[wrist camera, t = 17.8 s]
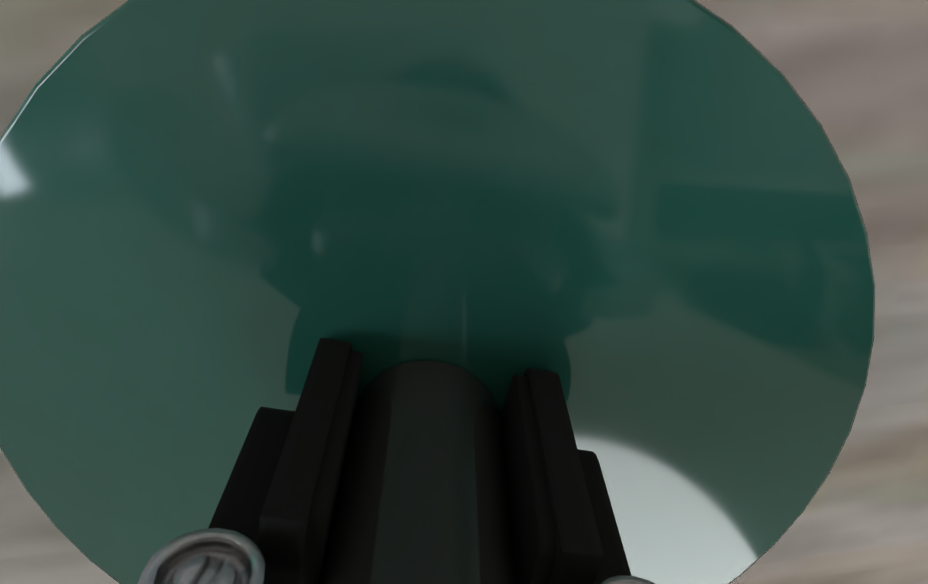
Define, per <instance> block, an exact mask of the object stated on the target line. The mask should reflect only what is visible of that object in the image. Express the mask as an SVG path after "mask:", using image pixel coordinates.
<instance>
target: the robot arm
mask: <svg viewBox="0 0 928 584" xmlns="http://www.w3.org/2000/svg"><path fill="white" fill-rule="evenodd" d="M351 349H352V343H351V342H345V341H338V340H331V339H324V338H320V340H319V343H318V346H317V349H316V351H315V354H314V357H313V360H312V363H311V366H310V369H309V372H308V375H307V378H306V381H305V384H304V387H303V390H302V393H301V396H300V399H299V402H298V405H297V408H296V411H290V410H282V409H275V408H268V407H260V408H259V409H258V411H257V413H256V415H255V418H254V420H253V422H252V425H251V427H250V429H249V432H248V434H247V437H246V439H245V441H244V444H243V446H242V449H241V451H240V453H239V456H238V458H237V461H236V463H235V465H234V468H233V470H232V472H231V475H230V477H229V480H228V482H227V484H226V487H225V489H224V492H223V494H222V496H221V499H220V501H219V503H218V506H217V508H216V511H215V513H214V515H213V518H212V520H211V523H210V525H209V527H208V529H199V530H195V531H192V532H188V533H185V534H182V535H180V536H178V537H176V538H175V539H173V540H171V541H169V542H167V543H166V544H165V545H163V546H162V547H161V548H160V549H159V550H158V551H157V552H156V553H155V554H154V555H153V556H152V557H151V559H150V560H149V562H148V563H147V565H146V567H145V568H144V570H143V572H142V575H141V577H140V579H139V582H138V584H318V583H319V578H320V574H321V569H322V564H323V559H324V555H325V550H326V545H327V540H328V535H329V531H330V526H331V521H332V516H333V512H334V507H335V502H336V497H337V492H338V488H339V483H340V478H341V473H342V468H343V464H344V459H345V454H346V449H347V445H348V440H349V435H350V430H351V425H352V421H353V416H354V411H355V406H356V400H357V393H358V385H359V378H360V370H361V363H362V355H363V352H356V351H351ZM500 423H501V432H502V442H503V452H504V461H505V471H506V481H507V490H508V500H509V510H510V519H511V529H512V539H513V548H514V558H515V567H516V577H517V584H655V583H653V582H651V581H649V580H646V579H643V578H639V577H636V576H632V575H631V572H630V568H629V565H628V561H627V558H626V554H625V551H624V547H623V544H622V540H621V537H620V533H619V530H618V526H617V523H616V519H615V516H614V512H613V509H612V505H611V502H610V498H609V495H608V491H607V488H606V484H605V481H604V477H603V474H602V470H601V467H600V463H599V460H598V458H597V455H596V454H595V453H594V452H593V451H587V450H580V449H577V445H576V441H575V437H574V433H573V429H572V425H571V421H570V417H569V413H568V409H567V405H566V401H565V397H564V393H563V389H562V385H561V381H560V377H559V375H558V373H556V372H550V371H543V370H536V369H529V368H527V369H526V370H525V372H524V374H523V376H522V375H514V376H513V378H512V381H511V384H510V388H509V392H508V396H507V399H506V403H505V407H504V411H503V414H502V418H501V422H500Z"/></svg>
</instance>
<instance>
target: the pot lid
mask: <svg viewBox="0 0 928 584" xmlns="http://www.w3.org/2000/svg"><path fill="white" fill-rule="evenodd" d="M874 313H875V283H874V277H873V270H872V263H871V256H870V249H869V243H868V236H867V231H866V228H865V225H864V222H863V219H862V216H861V213H860V209H859V206H858V203H857V200H856V197H855V194H854V191H853V188H852V185H851V182H850V179H849V176H848V174H847V172H846V171H845V169H844V167H843V165H842V163H841V161H840V159H839V157H838V155H837V153H836V151H835V150H834V148H833V146H832V144H831V142H830V140H829V138H828V136H827V134H826V132H825V130H824V129H823V127H822V125H821V123H820V122H819V120H818V119H817V118H816V117H815V115H814V114H813V113H812V111H811V110H810V109H809V107H808V106H807V105H806V103H805V102H804V101H803V99H802V98H801V97H800V95H799V94H798V93H797V92H796V90H795V89H794V88H793V86H792V85H791V84H790V82H789V81H788V80H787V78H786V77H785V76H784V74H783V73H782V72H781V71H780V70H779V69H778V68H777V67H776V66H775V65H774V64H773V63H772V62H770V61H769V60H768V59H767V58H766V57H765V56H764V55H763V54H762V53H761V52H760V51H759V50H758V49H757V48H756V47H755V46H754V45H752V44H751V43H750V42H749V41H748V40H747V39H746V38H745V37H744V36H743V35H742V34H741V33H740V32H739V31H738V30H737V29H735V28H734V27H733V26H732V25H731V24H730V23H728V22H727V21H725V20H724V19H722V18H721V17H719V16H718V15H716V14H715V13H713V12H712V11H710V10H709V9H707V8H706V7H705V6H703V5H702V4H700V3H699V2H697V1H696V0H128V1H126V2H125V3H124V4H122V5H121V6H120V7H118V8H117V9H116V10H114V11H113V12H112V13H110V14H109V15H108V16H106V17H105V18H104V19H102V20H101V21H100V22H98V23H97V24H96V25H94V26H93V27H92V28H90V29H89V30H88V31H86V32H85V33H84V34H82V35H81V36H80V37H79V39H78V40H77V41H76V42H75V43H74V44H73V45H72V46H71V47H70V48H69V49H68V50H67V51H66V52H65V53H64V54H63V56H62V57H61V58H60V59H59V60H58V61H57V62H56V63H55V64H54V65H53V66H52V67H51V68H50V69H49V70H48V71H47V72H46V74H45V75H44V76H43V77H42V78H41V79H40V80H39V81H38V82H37V83H36V84H35V86H34V87H33V89H32V90H31V92H30V93H29V95H28V96H27V98H26V100H25V101H24V103H23V104H22V106H21V107H20V109H19V110H18V112H17V113H16V115H15V116H14V118H13V119H12V121H11V122H10V124H9V125H8V127H7V129H6V130H5V132H4V133H3V135H2V136H1V138H0V448H1V450H2V452H3V453H4V455H5V457H6V458H7V460H8V462H9V463H10V465H11V466H12V468H13V470H14V471H15V473H16V474H17V476H18V478H19V479H20V481H21V483H22V484H23V486H24V487H25V489H26V491H27V492H28V493H29V494H30V496H31V497H32V498H33V499H34V500H35V502H36V503H37V504H38V505H39V507H40V508H41V509H42V510H43V512H44V513H45V514H46V515H47V517H48V518H49V519H50V520H51V522H52V523H53V524H54V525H55V526H56V528H57V529H58V530H59V531H60V532H62V533H63V534H64V535H65V536H66V537H67V538H68V539H69V540H70V541H71V542H72V543H73V544H74V545H75V546H76V547H77V548H78V549H79V550H80V551H81V552H82V553H83V554H84V555H85V556H86V557H87V558H88V559H89V560H90V561H91V562H93V563H94V564H95V565H97V566H98V567H99V568H100V569H102V570H103V571H104V572H105V573H107V574H108V575H109V576H110V577H112V578H113V579H114V580H116V581H117V582H118V583H119V584H138V582H139V579H140V577H141V575H142V572H143V570H144V568H145V567H146V565H147V563H148V562H149V560H150V559H151V557H152V556H153V555H154V554H155V553H156V552H157V551H158V550H159V549H160V548H161V547H162V546H163V545H165V544H166V543H167V542H169V541H171V540H173V539H175V538H176V537H178V536H180V535H182V534H185V533H188V532H192V531H195V530H199V529H208V527H209V525H210V523H211V520H212V518H213V515H214V513H215V511H216V508H217V506H218V503H219V501H220V499H221V496H222V494H223V492H224V489H225V487H226V484H227V482H228V480H229V477H230V475H231V472H232V470H233V468H234V465H235V463H236V461H237V458H238V456H239V453H240V451H241V449H242V446H243V444H244V441H245V439H246V437H247V434H248V432H249V429H250V427H251V425H252V422H253V420H254V418H255V415H256V413H257V411H258V409H259V408H260V407H268V408H275V409H282V410H290V411H296V408H297V405H298V402H299V399H300V396H301V393H302V390H303V387H304V384H305V381H306V378H307V375H308V372H309V369H310V366H311V363H312V360H313V357H314V354H315V351H316V349H317V346H318V343H319V340H320V338H324V339H331V340H338V341H345V342H351V343H352V349H351V351H356V352H363V355H362V363H361V370H360V378H359V385H358V393H357V400H356V406H355V411H354V416H353V421H352V425H351V430H350V435H349V440H348V445H347V449H346V454H345V459H344V464H343V468H342V473H341V478H340V483H339V488H338V492H337V497H336V502H335V507H334V512H333V516H332V521H331V526H330V531H329V535H328V540H327V545H326V550H325V555H324V559H323V564H322V569H321V574H320V578H319V583H318V584H517V577H516V567H515V558H514V548H513V539H512V529H511V519H510V510H509V500H508V490H507V481H506V471H505V461H504V452H503V442H502V432H501V423H500V422H501V418H502V414H503V411H504V407H505V403H506V399H507V396H508V392H509V388H510V384H511V381H512V378H513V376H514V375H522V376H523V374H524V372H525V370H526V369H527V368H529V369H536V370H543V371H550V372H556V373H558V375H559V377H560V381H561V385H562V389H563V393H564V397H565V401H566V405H567V409H568V413H569V417H570V421H571V425H572V429H573V433H574V437H575V441H576V445H577V449H580V450H587V451H593V452H594V453H595V454H596V455H597V458H598V460H599V463H600V467H601V470H602V474H603V477H604V481H605V484H606V488H607V491H608V495H609V498H610V502H611V505H612V509H613V512H614V516H615V519H616V523H617V526H618V530H619V533H620V537H621V540H622V544H623V547H624V551H625V554H626V558H627V561H628V565H629V568H630V572H631V575H632V576H636V577H639V578H643V579H646V580H649V581H651V582H653V583H655V584H729V583H731V582H732V581H733V580H735V579H736V578H737V577H739V576H740V575H741V574H743V573H744V572H745V571H746V570H747V569H748V568H749V567H750V566H751V565H752V564H754V563H755V562H756V561H757V560H758V559H759V558H760V557H761V556H762V555H763V554H764V553H766V552H767V551H768V550H769V549H770V548H771V547H772V546H773V545H774V544H775V543H776V542H777V541H778V540H779V539H780V537H781V536H782V535H783V534H784V533H785V532H786V531H787V529H788V528H789V527H790V526H791V525H792V524H793V523H794V521H795V520H796V519H797V518H798V517H799V516H800V515H801V513H802V512H803V511H804V510H805V508H806V507H807V505H808V504H809V502H810V501H811V499H812V498H813V496H814V495H815V493H816V492H817V491H818V489H819V488H820V486H821V485H822V483H823V482H824V480H825V479H826V477H827V476H828V474H829V473H830V471H831V469H832V467H833V465H834V463H835V461H836V459H837V457H838V455H839V453H840V451H841V449H842V447H843V445H844V443H845V441H846V439H847V437H848V435H849V433H850V431H851V428H852V425H853V422H854V419H855V416H856V413H857V410H858V407H859V404H860V401H861V398H862V395H863V392H864V389H865V386H866V380H867V375H868V369H869V364H870V358H871V352H872V347H873V341H874Z"/></svg>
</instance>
